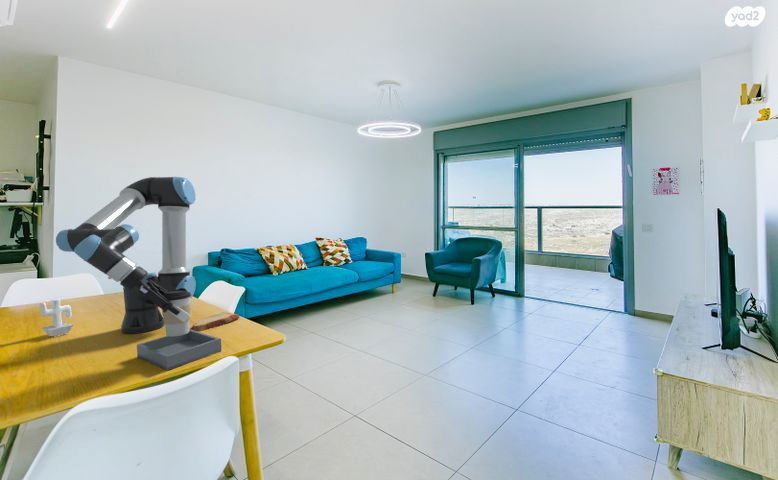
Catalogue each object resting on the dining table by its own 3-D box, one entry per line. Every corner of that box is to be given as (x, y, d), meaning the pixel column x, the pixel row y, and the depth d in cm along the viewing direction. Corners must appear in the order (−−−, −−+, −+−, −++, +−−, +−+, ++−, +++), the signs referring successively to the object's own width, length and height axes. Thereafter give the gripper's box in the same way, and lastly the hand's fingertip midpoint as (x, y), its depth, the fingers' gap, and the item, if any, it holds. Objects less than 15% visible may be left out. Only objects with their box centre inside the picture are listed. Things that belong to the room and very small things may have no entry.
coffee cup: (178, 338, 116) (176, 293, 115) (155, 336, 118) (153, 292, 117) (198, 329, 125) (196, 287, 124) (176, 328, 126) (174, 287, 125)
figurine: (77, 332, 146) (74, 297, 145) (48, 340, 138) (44, 302, 136) (68, 330, 149) (65, 295, 148) (38, 337, 141) (35, 300, 139)
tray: (137, 357, 120) (136, 344, 120) (190, 340, 135) (189, 329, 135) (167, 370, 110) (166, 356, 109) (221, 350, 125) (220, 338, 124)
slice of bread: (189, 333, 145) (189, 324, 145) (198, 320, 162) (197, 312, 162) (236, 328, 151) (236, 319, 150) (240, 316, 168) (240, 308, 167)
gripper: (125, 277, 122) (180, 316, 131) (111, 289, 103) (177, 333, 112) (142, 261, 124) (196, 300, 133) (132, 269, 105) (195, 314, 114)
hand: (187, 315), depth 122 cm, fingers closed on coffee cup, 9 cm apart
